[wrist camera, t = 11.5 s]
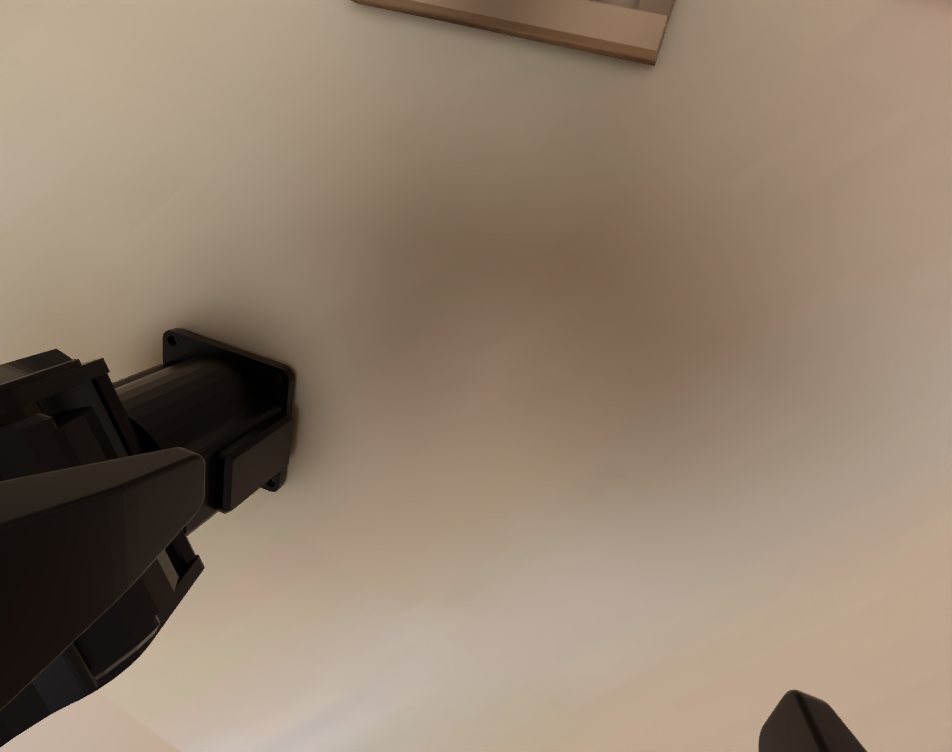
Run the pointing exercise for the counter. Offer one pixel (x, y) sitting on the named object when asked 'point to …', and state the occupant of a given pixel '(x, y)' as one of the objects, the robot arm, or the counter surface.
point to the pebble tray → (557, 21)
